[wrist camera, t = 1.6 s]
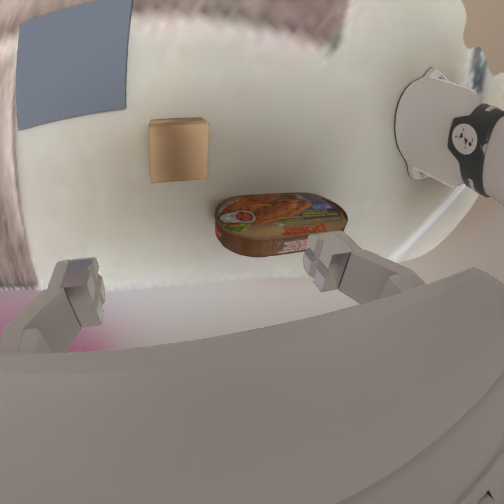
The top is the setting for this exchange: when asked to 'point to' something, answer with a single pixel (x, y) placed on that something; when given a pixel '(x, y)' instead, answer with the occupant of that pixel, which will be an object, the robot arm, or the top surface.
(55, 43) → the mat
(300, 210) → the tin
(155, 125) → the cube
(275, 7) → the top surface
